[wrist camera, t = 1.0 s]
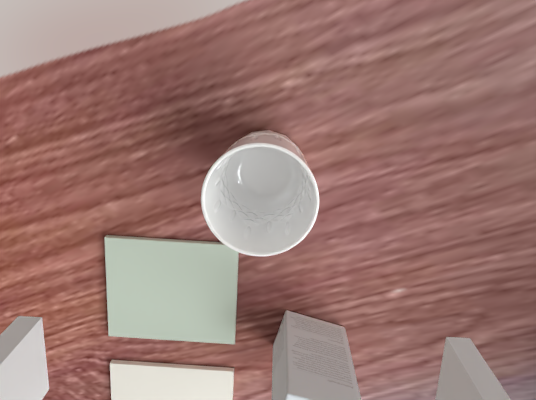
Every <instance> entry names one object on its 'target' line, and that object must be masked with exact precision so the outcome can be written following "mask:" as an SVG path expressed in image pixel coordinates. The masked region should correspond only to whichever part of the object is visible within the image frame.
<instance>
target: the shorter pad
mask: <svg viewBox="0 0 536 400" xmlns="http://www.w3.org/2000/svg"><path fill="white" fill-rule="evenodd" d="M104 239H105V263H106V286H107V310H108V333H109V336H115V337H130V338H146V339H161V340H176V341H191V342H206V343H221V344H235V336H236V311H237V286H238V261H239V252H237V251H235V250H233V249H231V248H229V247H227V246H226V245H225V244H223V243H222V242H209V241H193V240H177V239H161V238H145V237H130V236H114V235H106V236H105V237H104Z"/></svg>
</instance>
